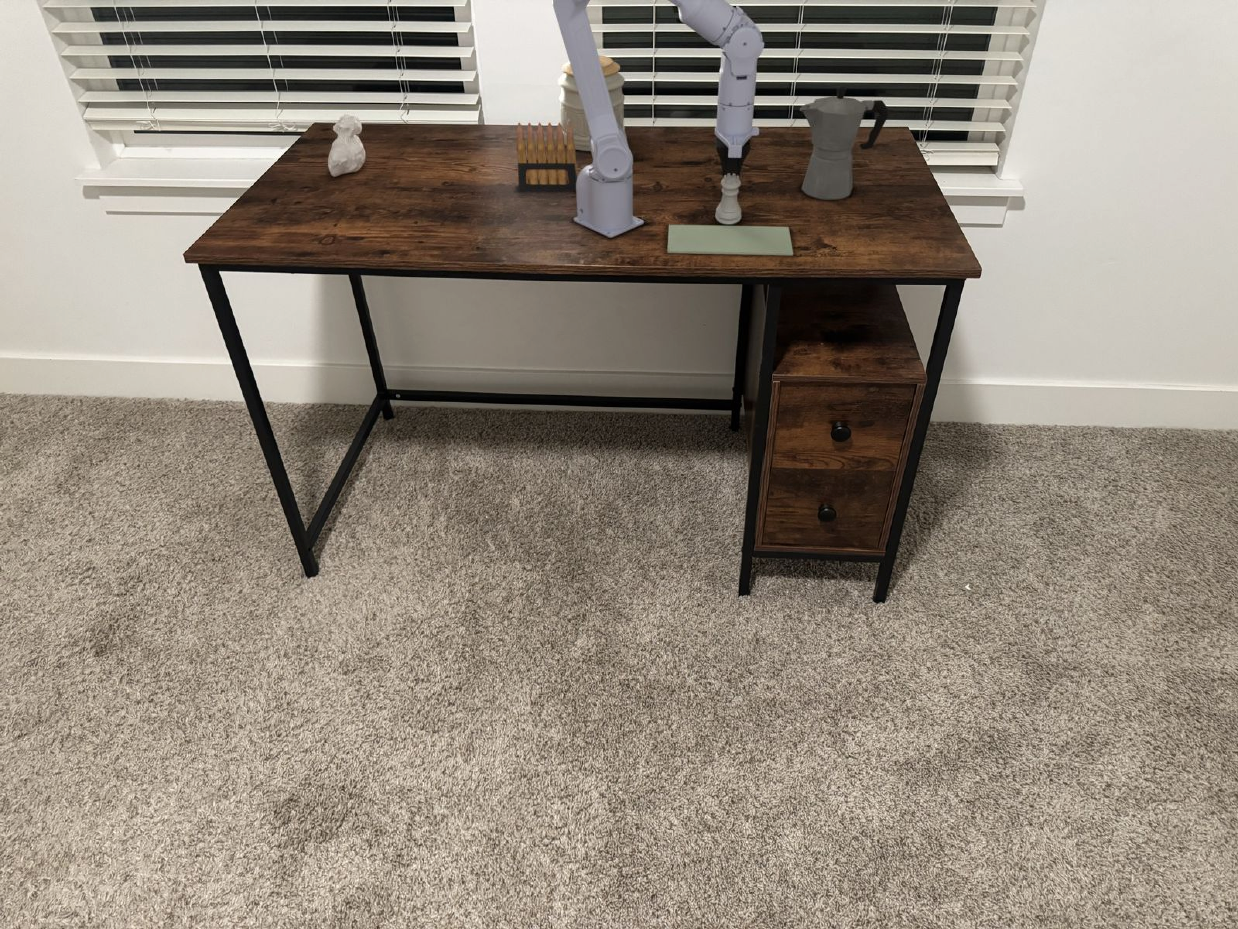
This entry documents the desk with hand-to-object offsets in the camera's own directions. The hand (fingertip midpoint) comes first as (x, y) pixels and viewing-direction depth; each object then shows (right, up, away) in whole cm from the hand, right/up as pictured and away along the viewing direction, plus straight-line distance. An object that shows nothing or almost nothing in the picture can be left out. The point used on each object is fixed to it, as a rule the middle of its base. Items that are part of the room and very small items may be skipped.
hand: (730, 184), depth 148 cm
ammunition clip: (-32, +3, +14) cm, 35 cm away
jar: (-24, +19, +32) cm, 44 cm away
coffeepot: (+20, +3, +12) cm, 24 cm away
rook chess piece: (0, -5, +3) cm, 6 cm away
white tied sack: (-70, +10, +22) cm, 74 cm away
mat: (-1, -10, -3) cm, 11 cm away
